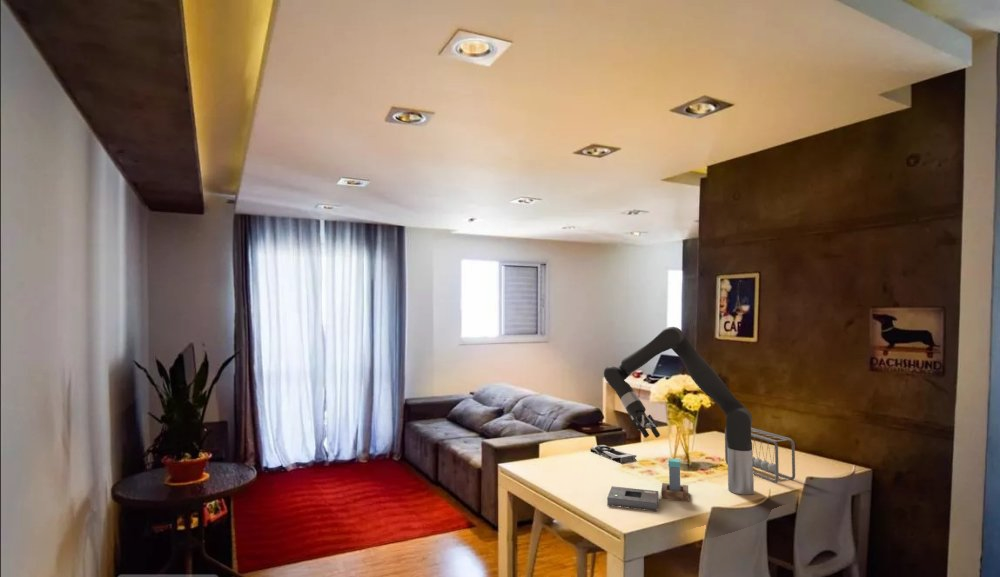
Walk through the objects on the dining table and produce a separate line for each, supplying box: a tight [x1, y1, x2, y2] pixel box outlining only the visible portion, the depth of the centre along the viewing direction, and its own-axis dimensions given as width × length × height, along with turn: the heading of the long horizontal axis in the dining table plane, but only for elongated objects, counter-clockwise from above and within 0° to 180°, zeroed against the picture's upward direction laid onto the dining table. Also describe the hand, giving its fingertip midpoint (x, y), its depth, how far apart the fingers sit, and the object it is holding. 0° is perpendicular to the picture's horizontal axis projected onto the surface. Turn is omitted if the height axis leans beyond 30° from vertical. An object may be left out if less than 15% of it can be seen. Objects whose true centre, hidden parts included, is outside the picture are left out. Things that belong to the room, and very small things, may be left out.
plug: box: [668, 458, 682, 491], centre depth 212 cm, size 4×4×14 cm
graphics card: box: [590, 444, 637, 464], centre depth 268 cm, size 10×3×25 cm
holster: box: [660, 482, 689, 503], centre depth 212 cm, size 10×10×3 cm
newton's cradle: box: [724, 427, 796, 483], centre depth 242 cm, size 30×10×18 cm, turn 20°
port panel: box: [606, 485, 660, 512], centre depth 206 cm, size 18×13×3 cm
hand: (652, 436), depth 226 cm, fingers open, 8 cm apart
